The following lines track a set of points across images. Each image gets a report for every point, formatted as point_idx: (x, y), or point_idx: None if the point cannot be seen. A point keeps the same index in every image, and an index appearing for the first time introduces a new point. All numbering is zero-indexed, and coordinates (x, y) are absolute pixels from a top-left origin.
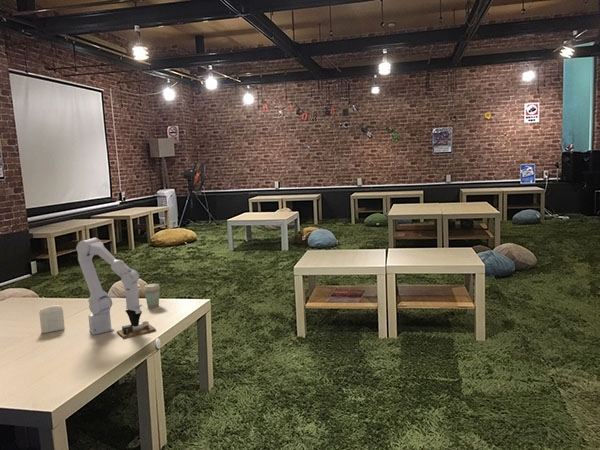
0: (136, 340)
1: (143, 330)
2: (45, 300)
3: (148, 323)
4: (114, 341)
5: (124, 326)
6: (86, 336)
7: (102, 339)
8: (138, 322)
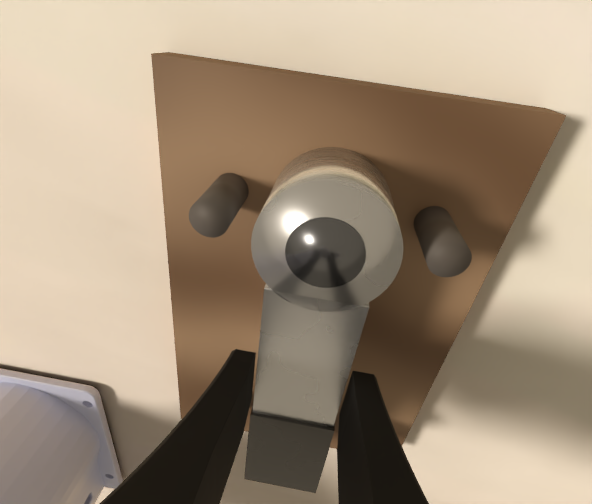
0: (569, 414)
1: (422, 282)
2: None
3: (388, 201)
4: None
5: (266, 469)
6: None
7: (262, 492)
8: (391, 426)
